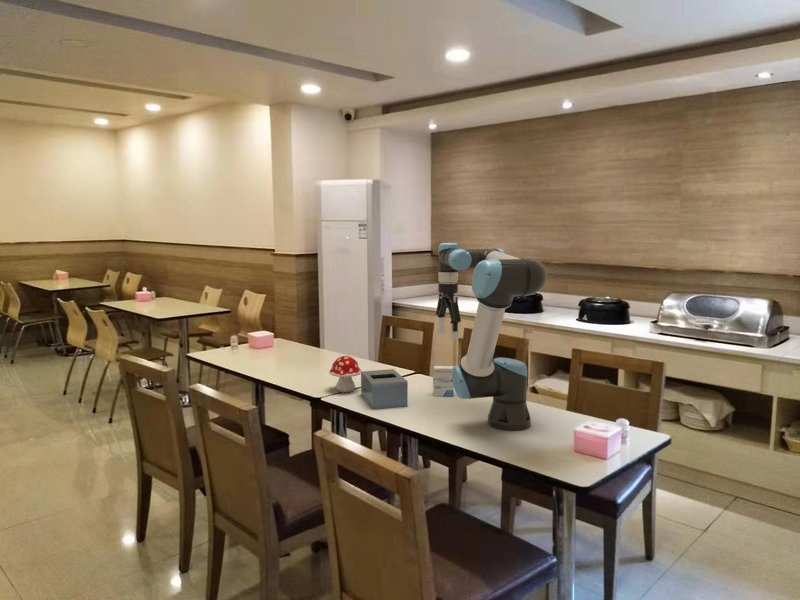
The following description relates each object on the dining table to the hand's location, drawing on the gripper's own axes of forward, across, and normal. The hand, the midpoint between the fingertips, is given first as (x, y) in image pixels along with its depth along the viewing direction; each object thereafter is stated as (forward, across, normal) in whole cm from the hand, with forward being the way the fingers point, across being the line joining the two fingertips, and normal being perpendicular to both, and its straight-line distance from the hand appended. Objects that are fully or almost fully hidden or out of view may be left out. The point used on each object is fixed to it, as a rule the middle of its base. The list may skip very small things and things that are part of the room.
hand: (447, 336), depth 233 cm
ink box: (+27, +10, -2) cm, 29 cm away
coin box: (+26, +9, +24) cm, 37 cm away
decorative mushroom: (+27, +28, +36) cm, 52 cm away
